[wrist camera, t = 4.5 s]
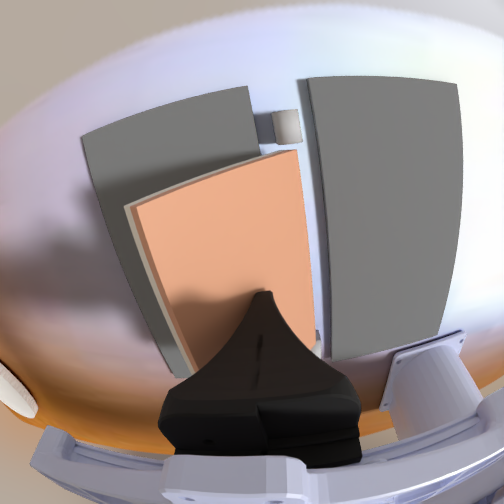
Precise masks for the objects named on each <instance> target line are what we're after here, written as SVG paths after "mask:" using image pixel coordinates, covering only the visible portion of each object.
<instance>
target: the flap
mask: <svg viewBox="0 0 504 504" xmlns="http://www.w3.org/2000/svg"><path fill="white" fill-rule="evenodd" d="M124 209H125V212H126V216H127V219H128V222H129V225H130V228H131V231H132V234H133V237H134V240H135V243H136V246H137V248H138V251H139V254H140V257H141V260H142V262H143V265H144V268H145V270H146V273H147V275H148V278H149V281H150V283H151V286H152V288H153V291H154V293H155V296H156V298H157V300H158V303H159V305H160V308H161V310H162V312H163V315H164V317H165V319H166V321H167V324H168V326H169V328H170V330H171V333H172V335H173V337H174V339H175V341H176V343H177V346H178V348H179V350H180V352H181V354H182V356H183V358H184V360H185V362H186V364H187V366H188V368H189V370H190V372H191V374H192V375H193V374H195V373H196V372H197V371H199V370H200V369H201V368H202V367H203V366H205V365H206V364H207V363H208V362H209V361H210V360H211V359H212V358H213V357H214V356H215V355H216V354H217V353H218V352H219V351H220V350H221V349H222V348H223V346H224V345H225V344H226V343H227V341H228V340H229V339H230V338H231V336H232V335H233V333H234V332H235V330H236V329H237V327H238V326H239V324H240V323H241V321H242V319H243V318H244V316H245V314H246V312H247V310H248V308H249V306H250V304H251V302H252V300H253V298H254V296H255V294H256V293H257V292H260V291H268V290H271V291H272V292H273V297H274V300H275V303H276V305H277V307H278V309H279V311H280V313H281V315H282V316H283V318H284V320H285V321H286V323H287V324H288V325H289V327H290V328H291V330H292V331H293V332H294V333H295V335H296V336H297V337H298V338H299V339H300V340H301V342H302V343H303V344H304V345H305V346H306V347H307V348H308V349H309V350H311V349H312V348H313V346H314V345H315V344H316V333H315V316H314V301H313V287H312V275H311V264H310V253H309V243H308V233H307V224H306V215H305V207H304V199H303V191H302V183H301V176H300V169H299V162H298V155H297V150H279V151H276V152H272V153H269V154H265V155H262V156H259V157H255V158H252V159H249V160H246V161H242V162H239V163H236V164H233V165H230V166H227V167H224V168H221V169H218V170H215V171H212V172H209V173H206V174H204V175H201V176H198V177H195V178H192V179H190V180H187V181H184V182H182V183H179V184H176V185H174V186H171V187H169V188H166V189H163V190H161V191H158V192H156V193H153V194H151V195H149V196H146V197H144V198H141V199H139V200H137V201H134V202H132V203H129V204H127V205H125V206H124Z"/></svg>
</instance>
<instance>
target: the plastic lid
mask: <svg viewBox="0 0 504 504" xmlns="http://www.w3.org/2000/svg"><path fill="white" fill-rule="evenodd" d="M0 400H1V401H2V402H3V403H4V404H6V405H7V406H9V407H10V408H11V409H12V410H14V411H16V412H17V413H19V414H21V415H23V416H25V417H27V418H28V417H29V418H34V417H35V415H36V413H37V411H38V406H37V404H36V402H35V400H34V398H33V397H32V396H31V395H30V393H29V392H28V391H27V389H25V387H24V386H23V385H22V384H21V383H20V382H19V380H17V379H16V377H14V376H13V374H12V373H10V371H9V370H7V368H6V367H4V366H3V365H2V364H1V363H0Z"/></svg>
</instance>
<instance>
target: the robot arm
mask: <svg viewBox="0 0 504 504" xmlns="http://www.w3.org/2000/svg"><path fill="white" fill-rule="evenodd" d="M466 335H467V334H466V332H465V331H461V332H458V333H456V334H453V335H450V336H447V337H445V338H442V339H439V340H436V341H433V342H430V343H427V344H424V345H420V346H417V347H414V348H410V349H407V350H404V351H400V352H397V353H396V354H395V355H394V357H393V361H392V365H391V369H390V372H389V376H388V380H387V384H386V387H385V391H384V394H383V397H382V401H381V404H380V407H379V410H380V411H381V412H383V411H387V410H389V413H390V416H391V419H392V422H393V425H394V428H395V430H396V434H397V437H398V440H399V441H397V442H393V443H390V444H387V445H383V446H379V447H376V448H372V449H368V450H364V451H361V446H360V442H359V436H360V433H359V428H358V422H359V418H360V414H361V403H360V400H359V397H358V395H357V393H356V391H355V389H354V387H353V386H352V384H351V382H350V381H349V379H348V378H347V376H345V375H343V374H342V373H340V372H338V371H337V370H335V369H334V368H332V367H331V366H329V365H328V364H326V363H325V362H324V361H322V360H321V359H320V358H319V357H318V356H316V355H315V354H314V353H313V352H312V351H311V350H309V349H308V348H307V347H306V346H305V345H304V344H303V343H302V342H301V340H300V339H299V338H298V337H297V336H296V335H295V333H294V332H293V331H292V330H291V328H290V327H289V325H288V324H287V323H286V321H285V320H284V318H283V316H282V315H281V313H280V311H279V309H278V307H277V305H276V303H275V300H274V297H273V292H272V291H271V290H268V291H260V292H257V293H256V294H255V296H254V298H253V300H252V302H251V304H250V306H249V308H248V310H247V312H246V314H245V316H244V318H243V319H242V321H241V323H240V324H239V326H238V327H237V329H236V330H235V332H234V333H233V335H232V336H231V338H230V339H229V340H228V341H227V343H226V344H225V345H224V346H223V348H222V349H221V350H220V351H219V352H218V353H217V354H216V355H215V356H214V357H213V358H212V359H211V360H210V361H209V362H208V363H207V364H206V365H205V366H203V367H202V368H201V369H200V370H199V371H197V372H196V373H195V374H193V375H192V376H191V377H189V378H188V379H186V380H185V381H183V382H181V383H180V384H178V385H177V386H175V387H173V388H172V389H170V390H169V391H168V394H167V396H166V398H165V401H164V403H163V406H162V410H161V413H160V417H159V420H158V427H159V429H160V431H161V432H162V434H163V435H164V436H165V437H166V438H167V439H168V440H169V441H170V443H171V444H172V445H173V446H174V447H175V448H176V449H175V453H174V455H173V456H171V457H169V458H167V459H165V460H164V461H163V460H157V459H150V458H144V457H138V456H133V455H128V454H123V453H119V452H114V451H109V450H106V449H102V448H98V447H94V446H91V445H87V444H84V443H81V442H77V441H76V440H75V439H74V438H73V437H72V436H71V435H70V434H68V433H67V432H65V431H63V430H61V429H58V428H55V427H52V426H49V425H47V427H46V429H45V431H44V433H43V435H42V437H41V439H40V441H39V443H38V446H37V448H36V450H35V452H34V454H33V457H32V459H31V462H30V466H31V467H33V468H34V469H36V470H37V471H38V472H40V473H41V474H42V475H44V476H45V477H47V478H48V479H50V480H51V481H53V482H54V483H56V484H58V485H59V486H61V487H63V488H64V489H66V490H68V491H70V492H73V493H75V494H77V495H80V496H82V497H84V498H86V499H89V500H91V501H94V502H96V503H99V504H504V387H502V388H500V389H498V390H497V391H495V392H493V393H491V394H489V395H488V396H486V397H485V398H483V397H482V395H481V393H480V391H479V389H478V388H477V386H476V384H475V382H474V381H473V379H472V377H471V376H470V374H469V372H468V371H467V369H466V367H465V366H464V364H463V362H462V361H461V359H460V358H459V356H458V355H459V353H460V350H461V348H462V346H463V343H464V341H465V338H466Z"/></svg>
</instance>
